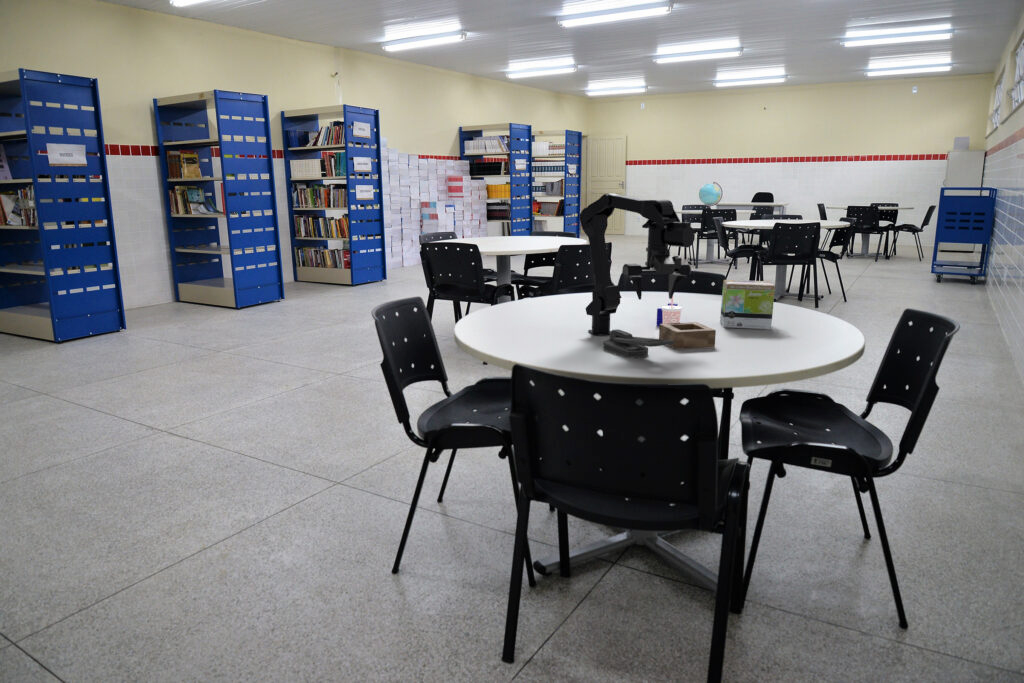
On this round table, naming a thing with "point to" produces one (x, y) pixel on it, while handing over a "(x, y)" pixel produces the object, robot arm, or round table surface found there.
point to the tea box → (747, 304)
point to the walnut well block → (688, 335)
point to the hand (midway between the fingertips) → (655, 299)
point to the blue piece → (661, 314)
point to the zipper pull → (631, 344)
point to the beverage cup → (671, 313)
